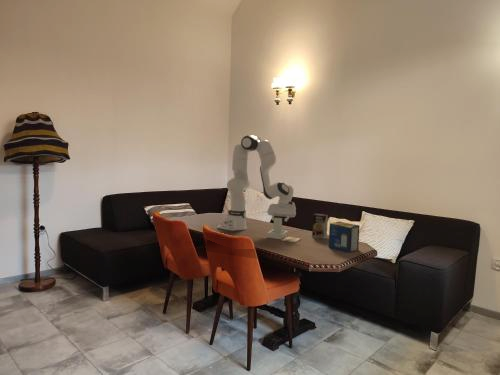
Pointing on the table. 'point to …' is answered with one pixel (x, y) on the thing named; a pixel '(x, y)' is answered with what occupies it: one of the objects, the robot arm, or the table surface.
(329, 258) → the table surface
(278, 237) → the bin
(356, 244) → the protein box
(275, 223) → the green block
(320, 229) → the coffee box
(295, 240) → the pad
